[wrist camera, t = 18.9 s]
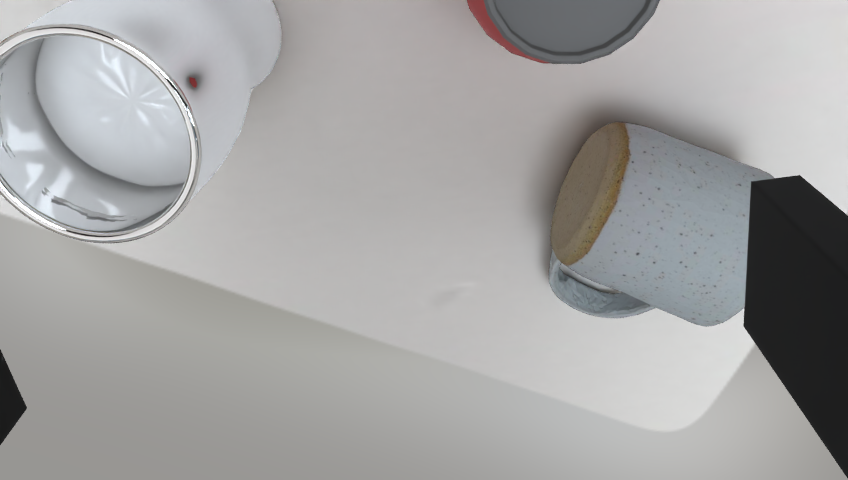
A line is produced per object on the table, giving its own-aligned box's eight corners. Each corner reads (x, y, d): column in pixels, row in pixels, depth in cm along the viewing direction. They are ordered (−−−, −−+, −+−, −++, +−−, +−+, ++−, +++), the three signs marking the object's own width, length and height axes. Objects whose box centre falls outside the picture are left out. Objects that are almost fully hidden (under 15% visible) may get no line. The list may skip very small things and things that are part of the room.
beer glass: (188, -87, 33) (25, -42, 20) (322, 17, 35) (255, 123, 22) (110, 41, 36) (-83, 158, 22) (238, 132, 38) (132, 290, 24)
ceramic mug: (596, 91, 36) (633, 151, 30) (750, 148, 38) (818, 218, 31) (508, 273, 41) (522, 361, 34) (647, 319, 42) (686, 413, 36)
